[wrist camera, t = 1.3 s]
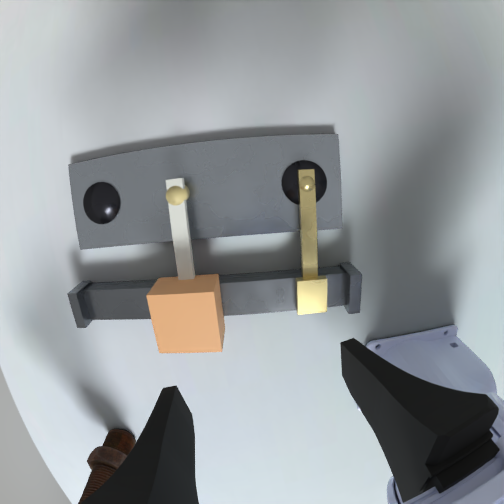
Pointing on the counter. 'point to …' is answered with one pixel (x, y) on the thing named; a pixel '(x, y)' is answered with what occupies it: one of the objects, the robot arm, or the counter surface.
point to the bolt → (107, 459)
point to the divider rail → (242, 282)
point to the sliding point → (185, 291)
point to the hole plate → (205, 189)
